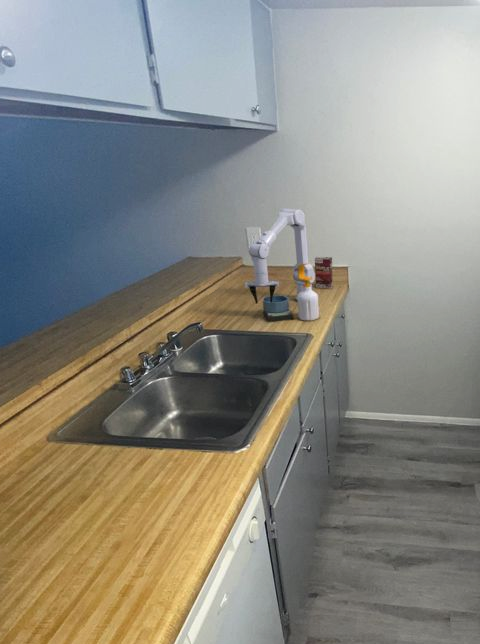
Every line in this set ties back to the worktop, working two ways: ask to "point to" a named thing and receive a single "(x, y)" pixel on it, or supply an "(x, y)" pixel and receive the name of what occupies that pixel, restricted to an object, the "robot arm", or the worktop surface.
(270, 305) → the bowl
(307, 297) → the spray bottle
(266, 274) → the robot arm
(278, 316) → the scale
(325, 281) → the supplement box
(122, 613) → the worktop surface
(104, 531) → the worktop surface
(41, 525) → the worktop surface
